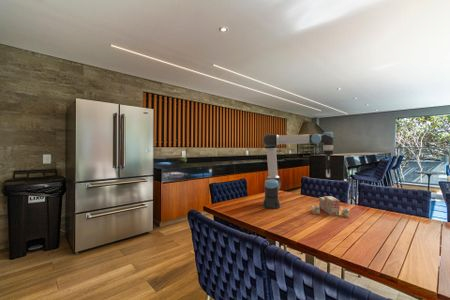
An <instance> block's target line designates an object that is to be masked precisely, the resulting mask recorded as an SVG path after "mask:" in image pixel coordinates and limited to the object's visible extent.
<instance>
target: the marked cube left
mask: <svg viewBox="0 0 450 300" xmlns="http://www.w3.org/2000/svg"><path fill="white" fill-rule="evenodd" d="M311 212H312V214H317V215H319V214H320V213H321V208H320V207H319V205H311Z"/></svg>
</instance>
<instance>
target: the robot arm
mask: <svg viewBox="0 0 450 300" xmlns="http://www.w3.org/2000/svg"><path fill="white" fill-rule="evenodd" d="M262 143H263V145H264V150H265V151H266V158H267V159H266V161H267V172H268V176H267V177H266V180H264V199H263V203H262V207H263V208H264V209H272V210H277V209H280V208H281V203H280V199H279V190H280V188H281V187H282V185H281V184H282V183H281V181H280V180H281V178H280V175H279V174H278V160H277V149H278V146H279V145H292V144H293V145H300V144H323V145H322V146H323V148H322V149H323V153H322V154H323V155H324V156H325V155H326V156H325V177H326V178H331V161H332V160H331V159H332V157H331V155H332V156H333V155H334V148H335V146H334V132H332V131H324V132H323V134H320V133H313V134H312V133H311V134H308V133H307V134H286V135H285V134H283V135H281V134H279V135H278V134H275V133H274V134H271V133H266V134H265V135H264V136H263V137H262Z"/></svg>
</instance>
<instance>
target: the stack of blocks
mask: <svg viewBox="0 0 450 300" xmlns="http://www.w3.org/2000/svg"><path fill="white" fill-rule="evenodd" d="M318 198H319V202H318V203H319V205H318V206H319V207H320V210H322V211H323V212H325V213H327V214H328V215H329V216H332V217H334V216H335V217H336V216H337V217H338V216H340V200H339V199H338V198H336V197H334V196H332V195H329V196H328V195H326V196H325V195H324V196H319V197H318Z"/></svg>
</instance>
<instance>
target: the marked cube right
mask: <svg viewBox="0 0 450 300" xmlns="http://www.w3.org/2000/svg"><path fill="white" fill-rule="evenodd" d="M340 209H341V217H343V218H344V217H345V218H350V209H349V208H345V207H344V208H343V207H341V208H340Z"/></svg>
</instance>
